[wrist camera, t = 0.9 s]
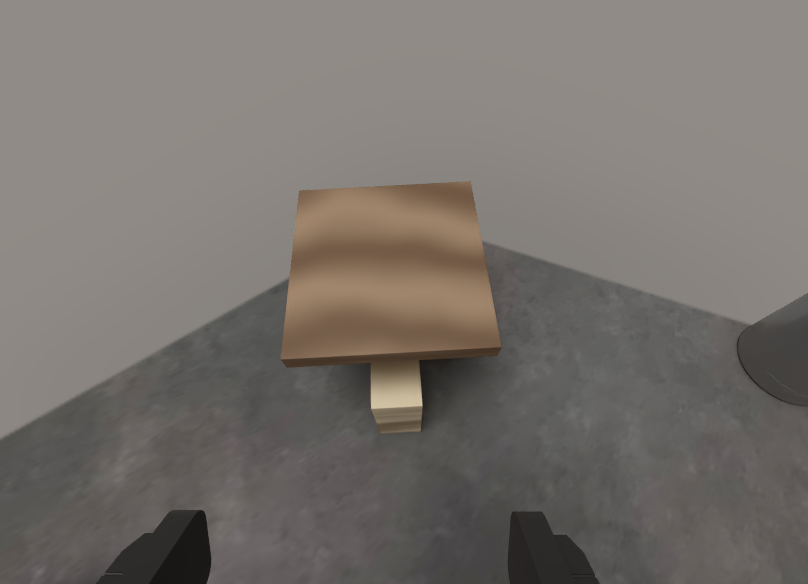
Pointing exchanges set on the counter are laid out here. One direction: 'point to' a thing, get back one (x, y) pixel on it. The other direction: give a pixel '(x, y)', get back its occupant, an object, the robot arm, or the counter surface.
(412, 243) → the walnut shelf
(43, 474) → the counter surface
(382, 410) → the oak block
